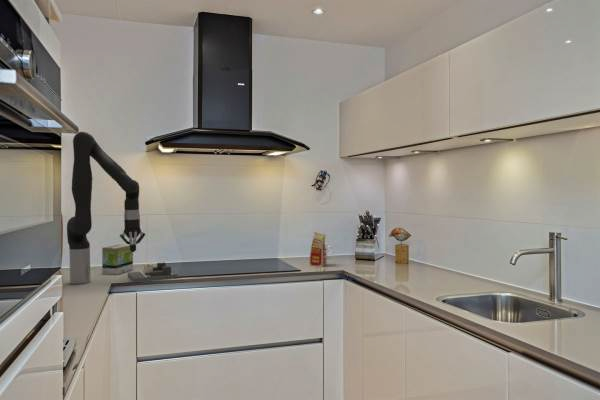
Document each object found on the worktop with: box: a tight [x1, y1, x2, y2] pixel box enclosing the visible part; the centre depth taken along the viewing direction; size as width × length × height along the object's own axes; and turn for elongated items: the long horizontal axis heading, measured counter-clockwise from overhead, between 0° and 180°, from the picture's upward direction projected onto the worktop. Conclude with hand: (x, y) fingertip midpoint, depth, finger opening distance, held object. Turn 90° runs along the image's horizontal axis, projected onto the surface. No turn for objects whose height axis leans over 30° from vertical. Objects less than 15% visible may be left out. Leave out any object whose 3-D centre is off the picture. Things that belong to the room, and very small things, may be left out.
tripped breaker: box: [143, 263, 154, 274], centre depth 238 cm, size 4×3×5 cm
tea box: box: [101, 244, 134, 275], centre depth 254 cm, size 15×10×15 cm
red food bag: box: [308, 231, 327, 268], centre depth 269 cm, size 9×9×20 cm
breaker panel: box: [127, 262, 178, 283], centre depth 239 cm, size 22×18×6 cm
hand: (133, 251), depth 234 cm, fingers closed
